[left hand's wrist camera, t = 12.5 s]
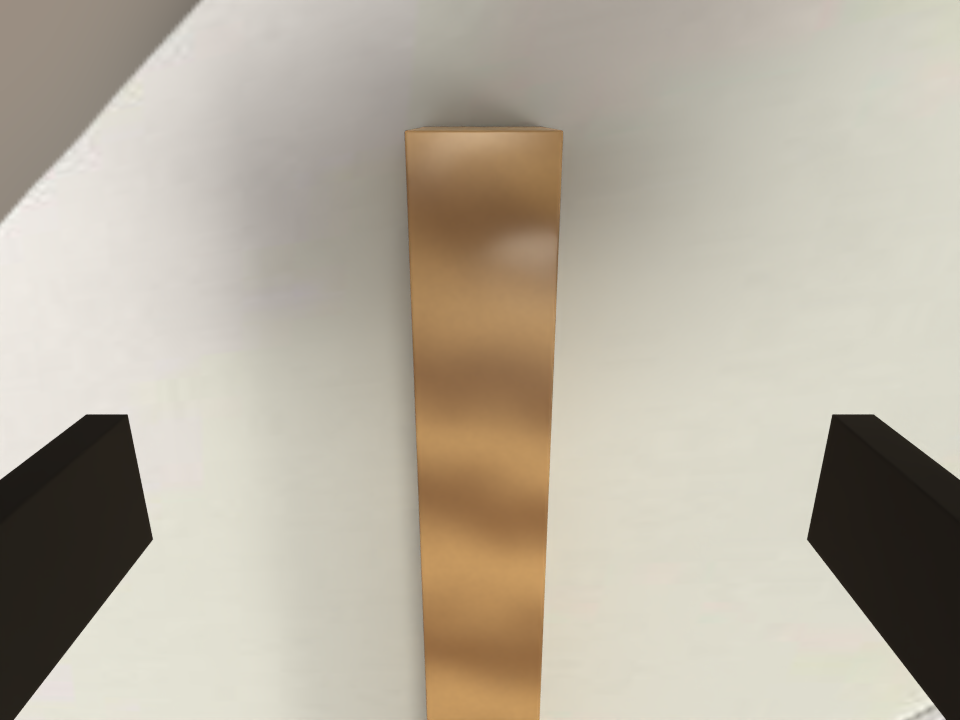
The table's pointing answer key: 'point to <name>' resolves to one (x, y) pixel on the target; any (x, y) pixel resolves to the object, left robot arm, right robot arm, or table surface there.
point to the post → (483, 406)
